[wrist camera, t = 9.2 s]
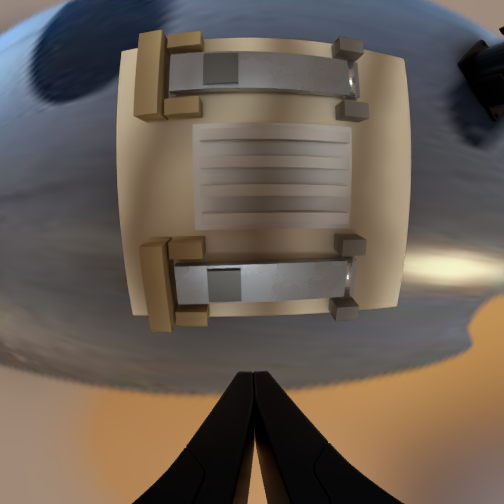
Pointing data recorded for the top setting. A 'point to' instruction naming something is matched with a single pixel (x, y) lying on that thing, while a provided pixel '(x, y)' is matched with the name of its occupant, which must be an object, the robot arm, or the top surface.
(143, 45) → the heatsink board
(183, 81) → the strap
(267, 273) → the strap
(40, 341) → the top surface
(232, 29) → the top surface
